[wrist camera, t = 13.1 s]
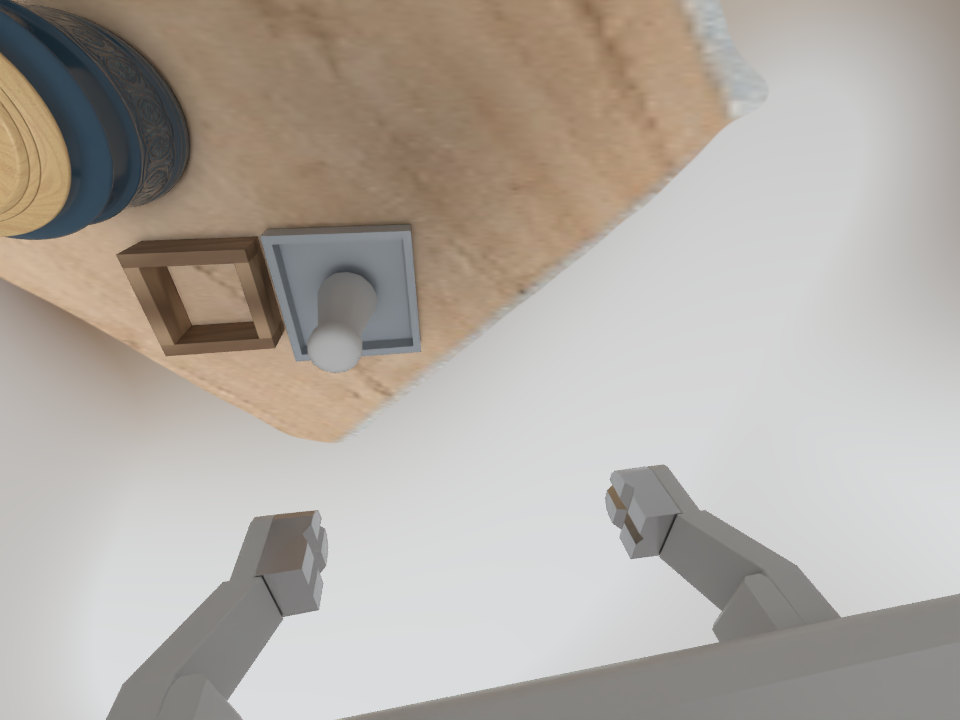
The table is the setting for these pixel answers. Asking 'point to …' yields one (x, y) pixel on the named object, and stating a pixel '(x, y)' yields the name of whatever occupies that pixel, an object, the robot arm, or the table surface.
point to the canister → (79, 125)
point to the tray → (356, 249)
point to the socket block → (166, 308)
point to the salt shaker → (341, 321)
